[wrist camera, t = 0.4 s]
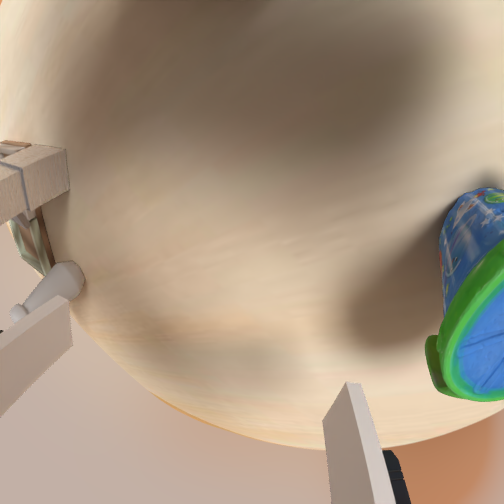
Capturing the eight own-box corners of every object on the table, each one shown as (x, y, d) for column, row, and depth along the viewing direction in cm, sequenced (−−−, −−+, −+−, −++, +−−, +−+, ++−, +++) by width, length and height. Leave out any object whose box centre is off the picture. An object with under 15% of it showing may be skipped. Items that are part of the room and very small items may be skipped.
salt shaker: (81, 291, 38) (27, 343, 28) (61, 262, 37) (3, 311, 27) (93, 283, 35) (31, 342, 25) (71, 250, 34) (4, 304, 23)
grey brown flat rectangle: (5, 140, 29) (-7, 145, 27) (30, 143, 26) (16, 149, 24) (28, 250, 41) (20, 257, 39) (57, 271, 39) (48, 279, 37)
